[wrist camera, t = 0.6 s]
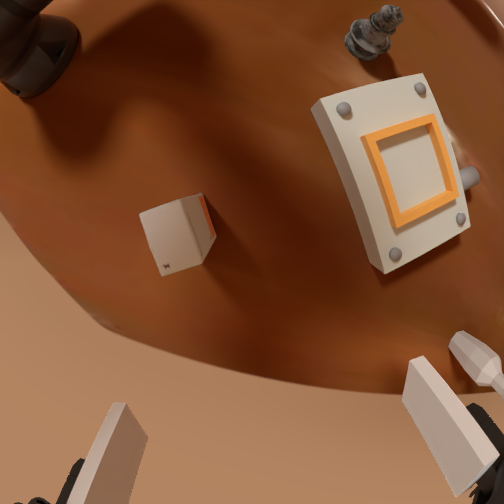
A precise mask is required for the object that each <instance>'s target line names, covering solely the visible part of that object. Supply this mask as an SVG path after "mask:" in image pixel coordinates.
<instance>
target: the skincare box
mask: <svg viewBox="0 0 504 504" xmlns="http://www.w3.org/2000/svg"><path fill="white" fill-rule="evenodd" d="M139 216H140V219H141V222H142V225H143V228H144V231H145V234H146V237H147V241H148V244H149V247H150V250H151V252H152V254H153V256H154V259H155V261H156V264H157V266H158V269H159V271H160V274H161V276H162V277H163V276H166V275H169V274H172V273H175V272H178V271H181V270H184V269H187V268H190V267H193V266H197V265H200V264H202V263H203V261H204V259H205V258H206V256H207V254H208V252H209V250H210V248H211V246H212V244H213V243H214V241H215V239H216V237H217V236H216V233H215V230H214V228H213V225H212V222H211V219H210V216H209V213H208V210H207V206H206V203H205V200H204V196H203V194H202V193H200V194H196V195H193V196H189V197H185V198H182V199H178V200H175V201H172V202H169V203H166V204H163V205H161V206H158V207H155V208H152V209H150V210H147V211H145V212H142V213H140V214H139Z"/></svg>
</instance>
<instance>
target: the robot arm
mask: <svg viewBox="0 0 504 504" xmlns="http://www.w3.org/2000/svg"><path fill="white" fill-rule="evenodd" d="M52 1H53V0H0V82H1V83H2V84H3V85H4V86H5V87H6V88H7V89H8V90H9V91H10V92H12V93H13V94H14V95H16V96H20V97H24V98H31V97H35V96H37V95H39V94H41V93H42V92H44V91H45V90H46V89H48V88H49V87H50V86H51V85H52V84H53V83H54V82H55V81H56V80H57V79H58V77H59V76H60V75H61V74H62V72H63V71H64V69H65V68H66V66H67V65H68V63H69V61H70V59H71V57H72V55H73V53H74V50H75V47H76V44H77V39H78V32H77V28H76V26H75V24H74V23H72V22H71V21H70V20H68V19H67V18H65V17H62V16H55V15H47V14H39V13H40V12H41V11H42V10H43V9H44V8H45V7H46V6H47V5H49V4H50V3H51V2H52ZM402 402H403V404H404V406H405V407H406V409H407V410H408V412H409V414H410V416H411V417H412V419H413V421H414V423H415V424H416V426H417V428H418V429H419V431H420V433H421V435H422V436H423V438H424V440H425V442H426V444H427V445H428V447H429V449H430V451H431V452H432V454H433V456H434V458H435V460H436V462H437V463H438V465H439V467H440V469H441V471H442V473H443V475H444V477H445V479H446V481H447V482H448V484H449V486H450V488H451V490H452V492H453V494H454V496H455V497H457V496H459V495H460V494H462V493H464V492H465V491H467V490H469V489H470V488H471V487H472V486H473V485H474V484H475V483H477V485H478V486H477V487H476V488H475V489H474V490H473V491H472V492H471V494H470V496H469V497H472V496H473V495H474V494H475V496H474V499H473V503H472V504H504V435H503V433H502V432H501V431H500V429H499V428H498V427H497V425H496V424H495V423H493V420H492V419H491V418H490V417H489V415H488V414H487V413H486V411H485V410H484V409H483V408H482V407H480V406H479V405H477V404H475V403H472V404H470V405H468V406H467V407H465V406H464V405H463V404H462V402H461V401H460V400H459V399H458V397H457V396H456V395H455V393H454V392H453V391H452V390H451V388H450V387H449V386H448V385H447V384H446V382H445V381H444V380H443V379H442V377H441V376H440V375H439V374H438V373H437V371H436V370H435V369H434V368H433V367H432V365H431V364H430V363H429V362H428V361H427V359H426V358H425V357H424V356H421V357H418V358H415V359H412V360H410V361H409V367H408V372H407V377H406V382H405V387H404V391H403V395H402ZM147 440H148V436H147V435H146V433H145V432H144V430H143V429H142V427H141V426H140V424H139V423H138V421H137V420H136V418H135V416H134V415H133V413H132V412H131V410H130V408H129V407H128V405H127V404H126V403H118V402H113V404H112V406H111V408H110V410H109V412H108V414H107V416H106V418H105V420H104V422H103V424H102V426H101V428H100V430H99V432H98V434H97V436H96V438H95V440H94V443H93V445H92V447H91V449H90V451H89V453H88V455H87V458H86V460H85V459H81V458H80V459H79V460H78V461H77V462H76V463H75V464H74V465H73V467H72V469H71V471H70V473H69V474H70V475H68V477H67V482H65V484H64V487H63V488H62V491H61V493H60V496H59V498H58V500H57V502H56V504H128V502H129V499H130V496H131V492H132V489H133V485H134V482H135V478H136V475H137V472H138V468H139V465H140V462H141V459H142V456H143V452H144V449H145V446H146V443H147ZM14 504H22V503H19V502H18V503H14ZM28 504H50V503H49V502H47V501H46V500H45V499H43V498H40V497H36V498H33V499H31V501H30V502H29V503H28Z"/></svg>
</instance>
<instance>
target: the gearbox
mask: <svg viewBox="0 0 504 504" xmlns="http://www.w3.org/2000/svg"><path fill="white" fill-rule="evenodd" d="M310 110H311V112H312V114H313V116H314V118H315V120H316V122H317V124H318V126H319V129H320V131H321V133H322V135H323V137H324V140H325V142H326V144H327V147H328V149H329V151H330V154H331V156H332V158H333V161H334V163H335V166H336V168H337V170H338V173H339V175H340V178H341V181H342V183H343V186H344V188H345V191H346V194H347V196H348V199H349V202H350V205H351V207H352V210H353V213H354V216H355V219H356V222H357V225H358V228H359V231H360V234H361V237H362V240H363V243H364V246H365V249H366V253H367V256H368V259H369V263H371V264H372V265H373V266H375V267H376V268H377V269H379V270H380V271H381V272H382V273H384V274H387V273H389V272H391V271H392V270H394V269H396V268H398V267H400V266H402V265H404V264H406V263H408V262H410V261H411V260H413V259H415V258H417V257H419V256H421V255H422V254H424V253H426V252H428V251H430V250H431V249H433V248H435V247H437V246H438V245H440V244H442V243H444V242H445V241H447V240H449V239H450V238H452V237H454V236H455V235H457V234H459V233H460V232H462V231H464V230H465V229H467V228H469V227H470V221H469V215H468V209H467V204H466V199H465V194H464V191H465V190H467V189H469V188H471V187H473V186H475V185H477V184H478V183H479V180H480V178H479V174H478V171H477V170H476V169H475V168H474V167H473V166H468V167H466V168H464V169H461V170H459V169H458V165H457V162H456V158H455V155H454V151H453V148H452V145H451V142H450V139H449V136H448V133H447V130H446V127H445V124H444V122H443V119H442V116H441V114H440V111H439V109H438V106H437V104H436V101H435V99H434V97H433V94H432V92H431V90H430V88H429V85H428V83H427V81H426V79H425V77H424V75H423V73H421V74H416V75H410V76H405V77H400V78H396V79H391V80H386V81H382V82H378V83H374V84H370V85H366V86H362V87H358V88H355V89H351V90H347V91H344V92H341V93H337V94H334V95H331V96H327V97H324V98H321V99H319V100H318V101H317V102H316V103H315V104H314V105H313V107H312V108H311V109H310Z"/></svg>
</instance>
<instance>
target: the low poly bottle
mask: <svg viewBox="0 0 504 504" xmlns="http://www.w3.org/2000/svg"><path fill="white" fill-rule="evenodd" d="M448 347H449V349H450V350H451V351H452V353H453V354H454V356H455V357H456V359H457V360H458V361H459V363H460V364H461V366H462V367H463V369H464V370H465V371H466V372H467V374H468V375H469V376H470V377H471V378H472V379H473V380H474V381H475V382H476V384H477V385H478V386H492V387H493V388H494V389H495V390H496V391H497V392H498V393H499V395H500V396H501V397H502V398H503V400H504V374H503V373H502V367H501V360H500V358H499V356H498V355H497V354H496V353H495V352H494V351H493V350H492V349H490V348H489V347H488V346H487V345H486V344H484V343H483V342H481V341H479V340H478V339H476V338H474V337H473V336H471V335H469V334H468V333H466V332H464V331H459V332H457V333H456V334H455V335H454V336H453V337H452V339H451V341H450V344H449V346H448Z"/></svg>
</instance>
